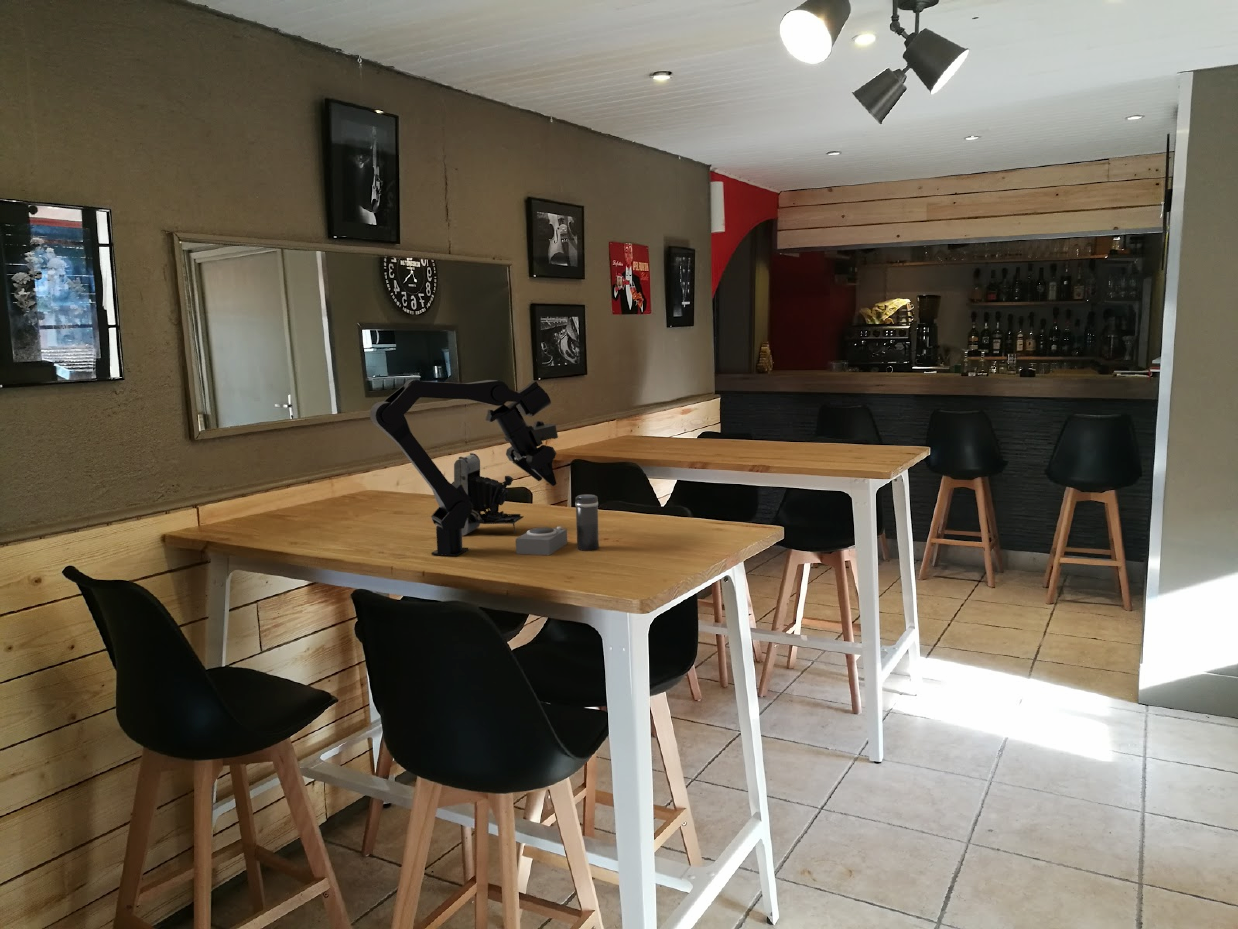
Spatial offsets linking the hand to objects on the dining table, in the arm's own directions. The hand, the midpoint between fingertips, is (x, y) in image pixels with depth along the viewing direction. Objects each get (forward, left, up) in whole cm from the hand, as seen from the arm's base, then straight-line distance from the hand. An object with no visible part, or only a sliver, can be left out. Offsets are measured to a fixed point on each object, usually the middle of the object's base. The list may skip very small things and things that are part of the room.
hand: (547, 482), depth 213 cm
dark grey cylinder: (-7, -12, -14) cm, 20 cm away
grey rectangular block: (-9, -2, -14) cm, 17 cm away
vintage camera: (+5, +18, -14) cm, 24 cm away
